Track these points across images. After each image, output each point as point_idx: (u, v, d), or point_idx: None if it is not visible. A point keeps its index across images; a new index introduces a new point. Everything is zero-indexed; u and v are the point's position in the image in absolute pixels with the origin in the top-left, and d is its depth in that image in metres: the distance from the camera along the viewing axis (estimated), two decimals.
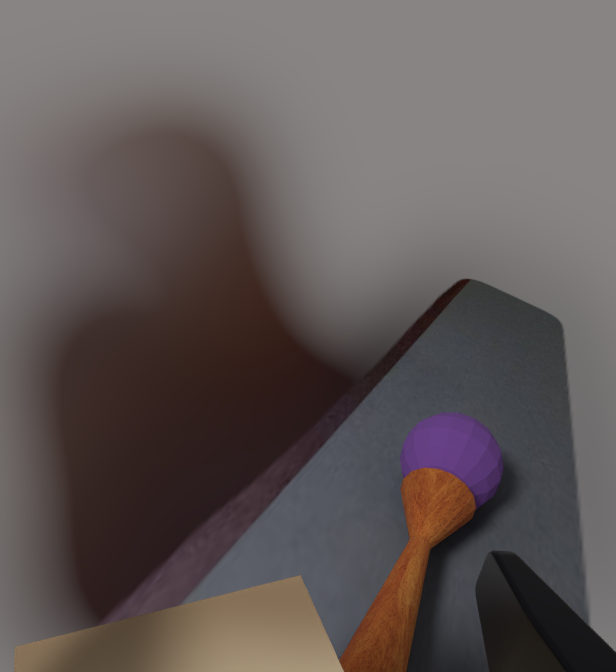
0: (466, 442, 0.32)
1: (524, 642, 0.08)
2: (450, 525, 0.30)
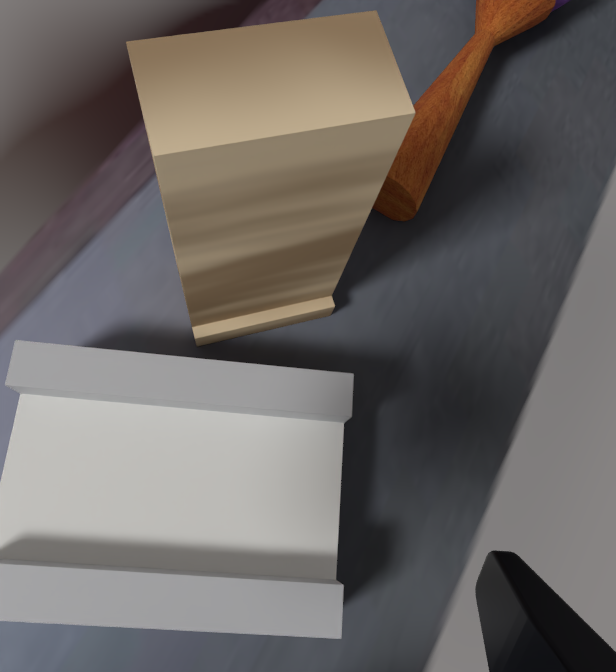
0: None
1: (524, 642, 0.08)
2: (521, 21, 0.28)
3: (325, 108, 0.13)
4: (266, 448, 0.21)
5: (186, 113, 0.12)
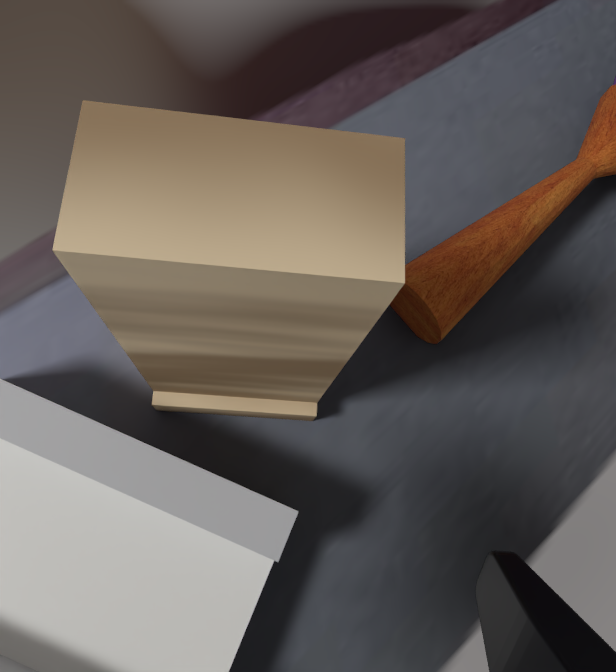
0: None
1: (524, 642, 0.08)
2: None
3: (290, 246, 0.10)
4: (178, 559, 0.18)
5: (116, 207, 0.10)
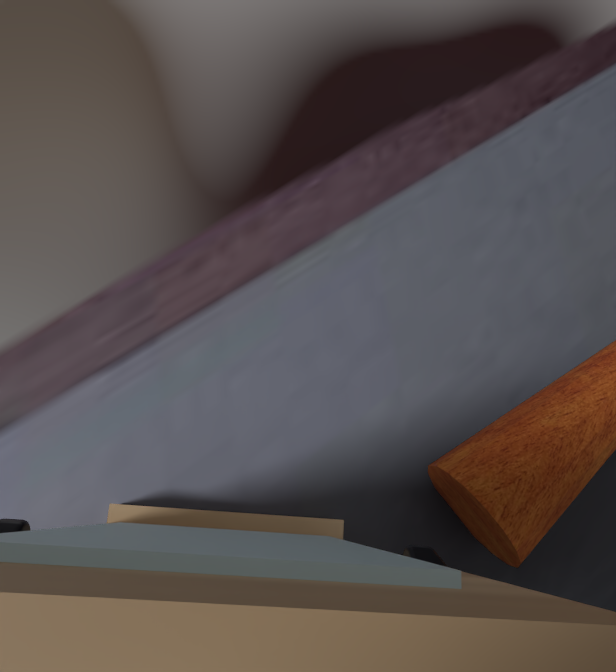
0: None
1: None
2: None
3: None
4: None
5: None
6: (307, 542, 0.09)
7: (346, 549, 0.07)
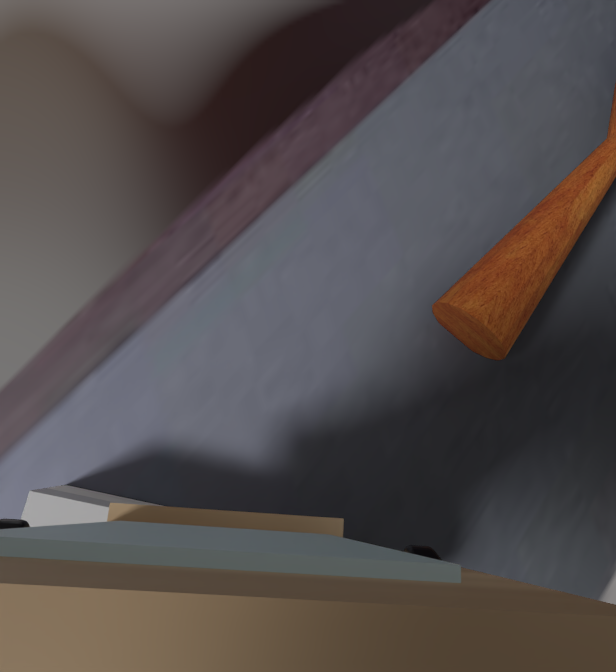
0: None
1: None
2: None
3: None
4: None
5: None
6: (307, 539, 0.09)
7: (346, 545, 0.07)
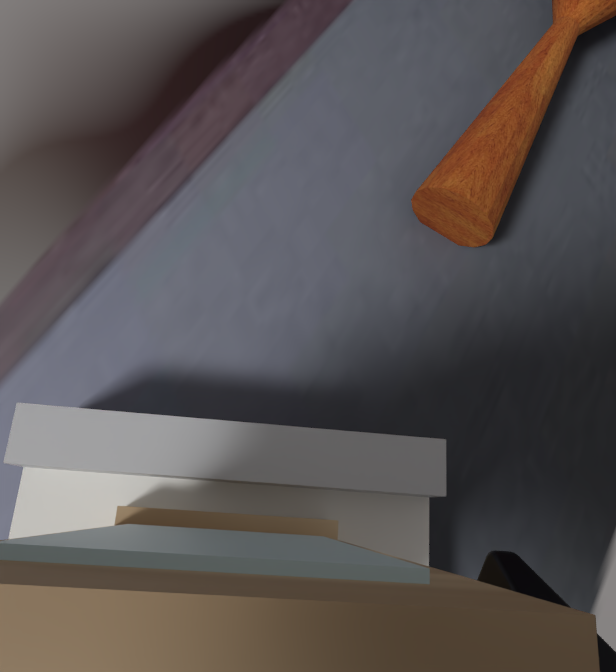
0: None
1: None
2: (610, 7, 0.23)
3: None
4: None
5: None
6: (301, 543, 0.09)
7: (335, 549, 0.08)
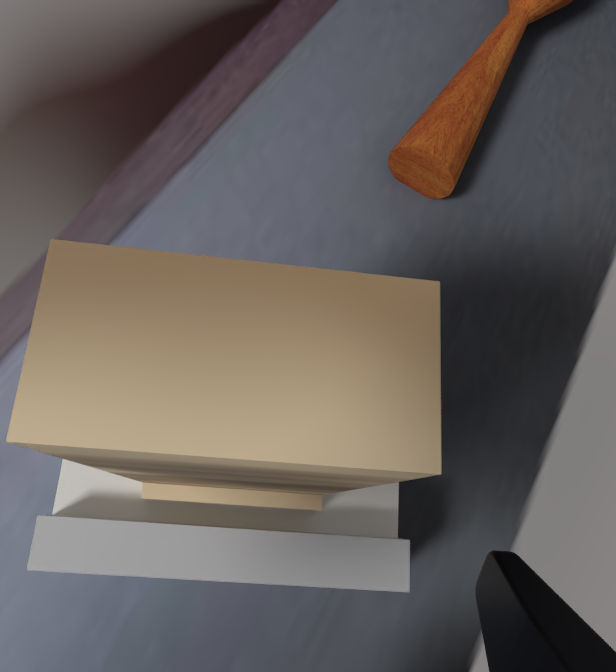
0: None
1: (524, 642, 0.08)
2: None
3: (301, 427, 0.08)
4: None
5: (87, 381, 0.08)
6: None
7: None
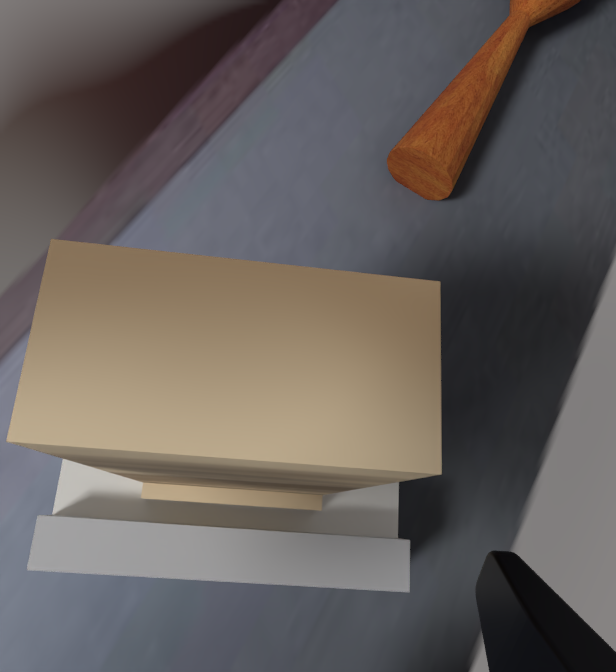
0: None
1: (524, 642, 0.08)
2: (557, 2, 0.28)
3: (301, 427, 0.08)
4: None
5: (88, 381, 0.08)
6: None
7: None
